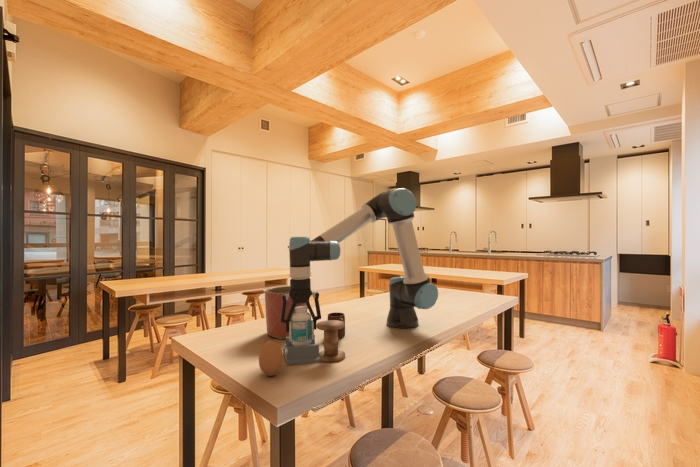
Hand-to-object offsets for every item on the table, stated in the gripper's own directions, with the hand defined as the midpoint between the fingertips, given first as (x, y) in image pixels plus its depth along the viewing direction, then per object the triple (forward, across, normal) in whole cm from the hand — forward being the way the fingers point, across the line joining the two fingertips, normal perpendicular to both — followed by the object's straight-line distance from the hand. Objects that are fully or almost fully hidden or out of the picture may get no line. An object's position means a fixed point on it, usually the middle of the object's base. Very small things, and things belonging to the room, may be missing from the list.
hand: (301, 339), depth 118 cm
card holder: (+6, 0, 0) cm, 6 cm away
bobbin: (+6, -10, +6) cm, 13 cm away
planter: (+6, +4, -28) cm, 29 cm away
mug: (+6, -17, -15) cm, 23 cm away
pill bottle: (+2, 0, 0) cm, 2 cm away
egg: (+6, +11, +15) cm, 19 cm away
